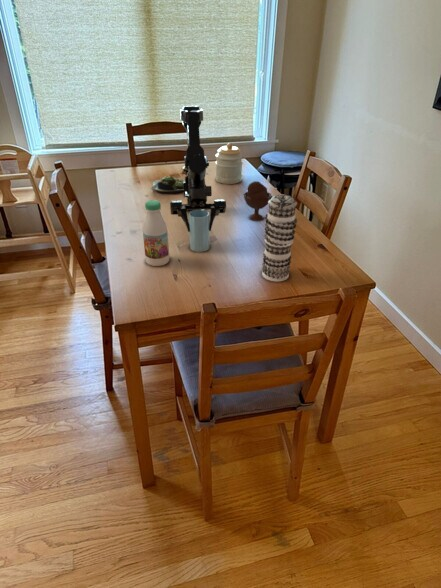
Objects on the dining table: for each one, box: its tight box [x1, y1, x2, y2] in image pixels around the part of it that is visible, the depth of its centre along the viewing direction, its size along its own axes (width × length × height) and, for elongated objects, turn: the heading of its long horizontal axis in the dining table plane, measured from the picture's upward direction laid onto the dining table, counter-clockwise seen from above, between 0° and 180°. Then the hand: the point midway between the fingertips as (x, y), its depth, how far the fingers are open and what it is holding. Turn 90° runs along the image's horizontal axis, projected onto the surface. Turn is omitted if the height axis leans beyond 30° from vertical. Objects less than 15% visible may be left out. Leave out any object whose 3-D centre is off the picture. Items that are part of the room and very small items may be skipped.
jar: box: [215, 142, 244, 185], centre depth 195 cm, size 13×13×18 cm
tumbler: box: [188, 210, 211, 253], centre depth 138 cm, size 7×7×12 cm
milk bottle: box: [142, 199, 170, 267], centre depth 127 cm, size 8×8×20 cm
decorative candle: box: [261, 193, 298, 283], centre depth 120 cm, size 9×9×25 cm
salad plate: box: [150, 175, 185, 195], centre depth 190 cm, size 19×18×5 cm
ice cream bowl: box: [243, 180, 273, 222], centre depth 158 cm, size 11×11×15 cm
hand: (199, 231), depth 136 cm, fingers closed on tumbler, 7 cm apart
